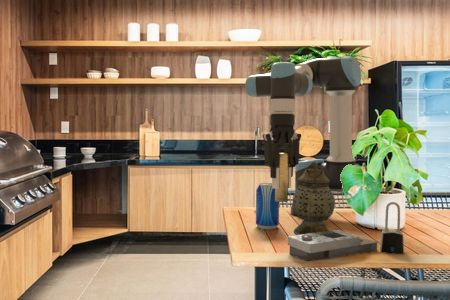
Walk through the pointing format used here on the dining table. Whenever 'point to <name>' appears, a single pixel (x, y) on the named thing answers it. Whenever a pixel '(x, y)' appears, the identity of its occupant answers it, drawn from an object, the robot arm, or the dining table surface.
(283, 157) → the brass pin
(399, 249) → the padlock
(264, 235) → the dining table surface
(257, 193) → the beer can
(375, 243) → the grey device box
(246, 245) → the dining table surface
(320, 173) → the lantern
